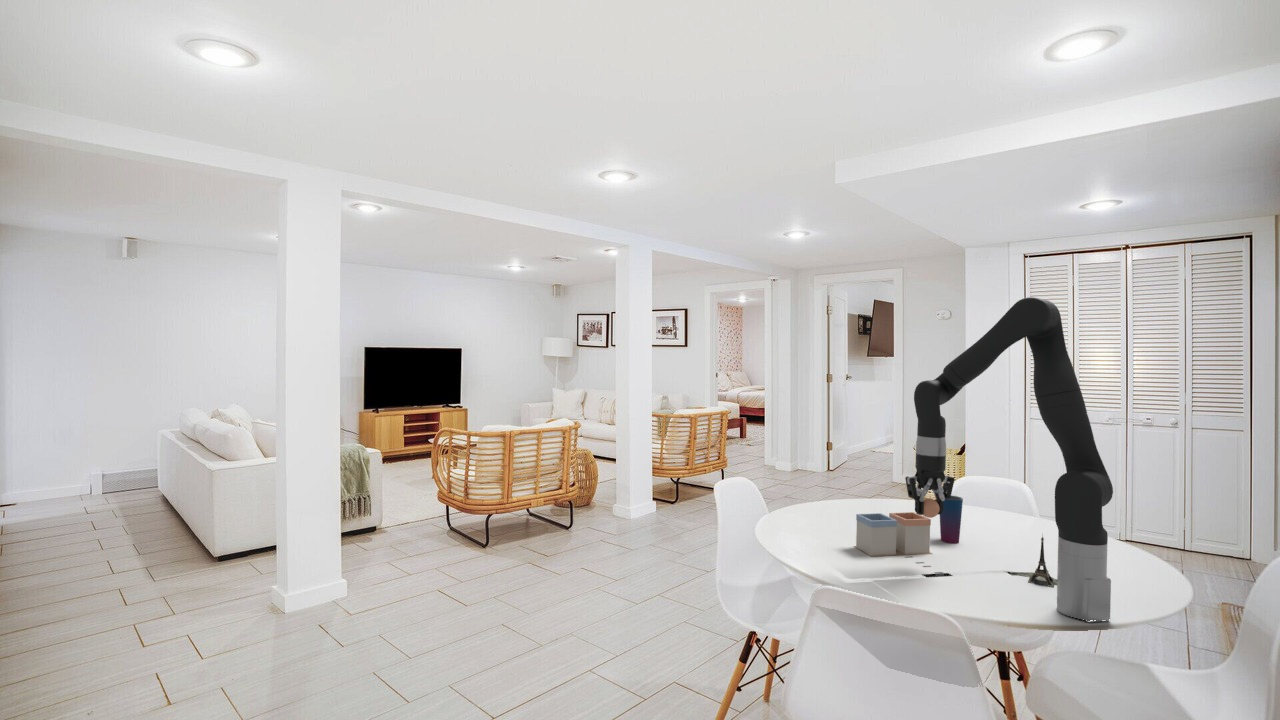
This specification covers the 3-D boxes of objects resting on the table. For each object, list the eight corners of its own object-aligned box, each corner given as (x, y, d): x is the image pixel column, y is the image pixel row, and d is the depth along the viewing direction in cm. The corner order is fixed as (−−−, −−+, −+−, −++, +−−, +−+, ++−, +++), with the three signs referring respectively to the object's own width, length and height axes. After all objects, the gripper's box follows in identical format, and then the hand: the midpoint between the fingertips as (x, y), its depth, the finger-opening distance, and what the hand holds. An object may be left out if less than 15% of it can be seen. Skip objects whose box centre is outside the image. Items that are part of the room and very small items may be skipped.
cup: (964, 548, 190) (965, 500, 190) (941, 547, 192) (942, 499, 191) (958, 542, 197) (959, 495, 197) (935, 540, 198) (936, 494, 198)
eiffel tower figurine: (1084, 594, 155) (1086, 541, 155) (1048, 595, 154) (1049, 542, 154) (1039, 573, 170) (1040, 525, 170) (1005, 574, 169) (1006, 526, 169)
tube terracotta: (930, 553, 182) (930, 519, 181) (905, 554, 180) (905, 520, 180) (912, 544, 190) (913, 512, 190) (888, 545, 188) (889, 513, 188)
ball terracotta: (943, 519, 168) (944, 500, 167) (926, 520, 166) (927, 501, 166) (930, 514, 173) (931, 496, 173) (914, 515, 172) (914, 496, 172)
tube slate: (896, 554, 179) (897, 520, 179) (870, 555, 178) (871, 521, 178) (880, 546, 187) (881, 513, 187) (855, 547, 186) (856, 514, 186)
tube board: (933, 558, 181) (933, 553, 181) (871, 561, 177) (871, 556, 177) (911, 547, 191) (912, 543, 191) (852, 550, 187) (852, 546, 187)
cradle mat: (953, 576, 165) (953, 572, 165) (926, 578, 164) (926, 573, 164) (920, 559, 179) (920, 555, 179) (895, 561, 177) (895, 556, 177)
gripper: (916, 455, 164) (914, 518, 164) (963, 454, 167) (961, 517, 167) (899, 450, 172) (897, 511, 172) (944, 450, 174) (942, 509, 175)
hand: (928, 513), depth 170 cm, fingers closed on ball terracotta, 5 cm apart
